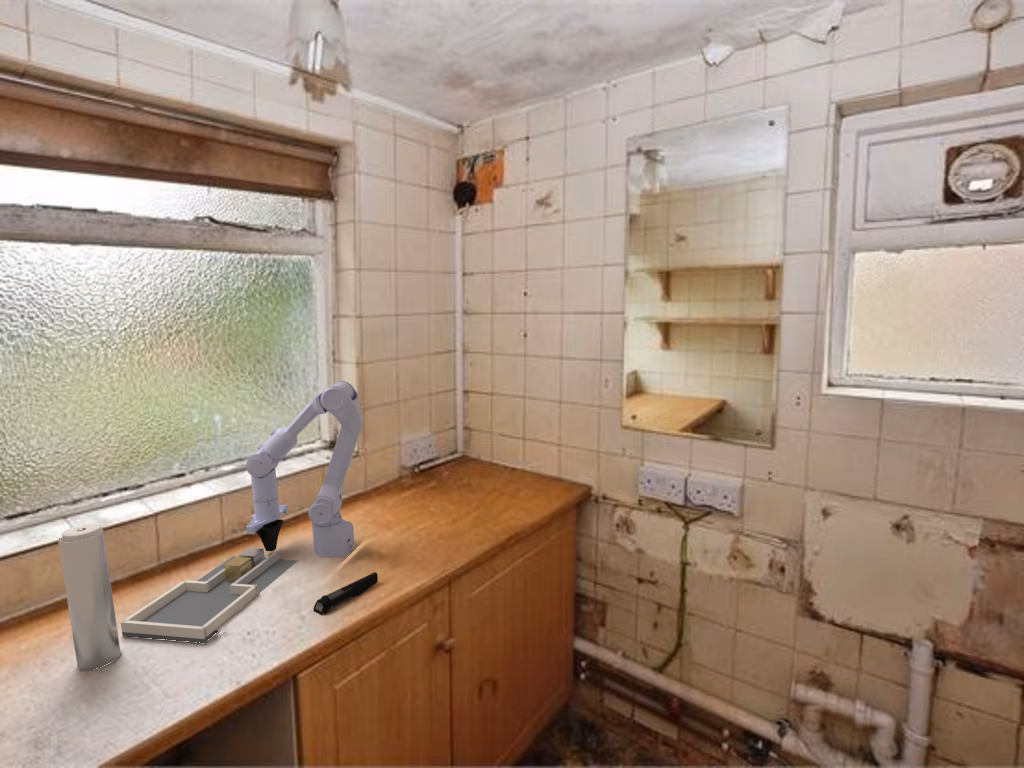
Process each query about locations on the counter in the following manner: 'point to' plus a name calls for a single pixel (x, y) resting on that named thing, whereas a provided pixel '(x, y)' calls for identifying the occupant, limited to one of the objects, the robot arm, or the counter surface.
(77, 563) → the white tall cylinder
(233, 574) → the mustard yellow cube
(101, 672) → the counter surface
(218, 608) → the channel board
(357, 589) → the electric trimmer
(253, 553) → the light grey cube
